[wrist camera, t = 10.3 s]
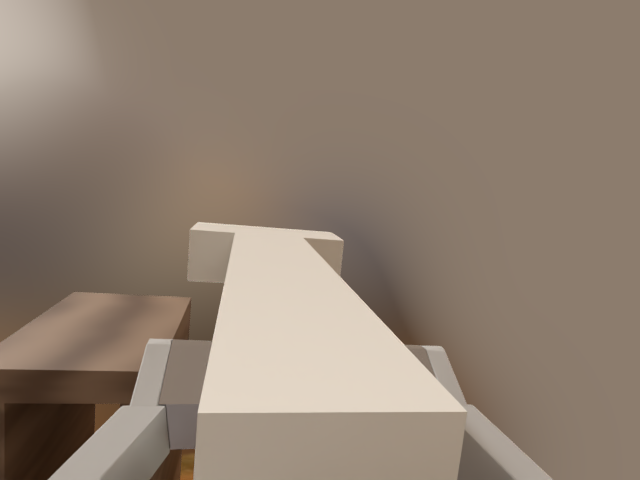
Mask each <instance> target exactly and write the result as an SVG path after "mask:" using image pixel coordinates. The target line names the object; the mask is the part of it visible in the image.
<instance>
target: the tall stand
mask: <svg viewBox="0 0 640 480" xmlns="http://www.w3.org/2000/svg"><path fill="white" fill-rule="evenodd" d="M190 309H191V298H189V297H188V298H187V297H168V296H167V297H166V296H146V295H125V294H105V293H85V292H73V293H72V294H71V295H69V296H68V297H66V298H65V299H63V300H62V301H60V302H59V303H57V304H56V305H55V306H53V307H52V308H50V309H49V310H47V311H46V312H44V313H43V314H41V315H40V316H39V317H37V318H36V319H34V320H33V321H31V322H30V323H28V324H27V325H25V326H24V327H22V328H21V329H20V330H18V331H17V332H15V333H14V334H12V335H11V336H9V337H8V338H6V339H5V340H3V341H2V342H1V343H0V480H48V479H49V478H50V477H51V476H52V475H53V474H54V473H55V472H56V471H57V470H58V469H59V468H60V467H61V466H62V465H63V464H64V463H65V462H66V461H67V460H68V459H69V458H70V457H71V456H72V455H73V454H74V453H75V452H76V451H77V450H78V449H79V448H80V447H81V446H82V445H83V444H84V443H85V442H86V441H87V440H88V439H89V438H90V437H91V436H92V435H93V434H94V427H95V426H94V425H95V404H120V408H121V407H122V406H130V402H131V399H132V395H133V391H134V388H135V384H136V380H137V377H138V373H139V370H140V366H141V362H142V359H143V355H144V351H145V348H146V345H147V343H148V341H149V339H178V340H189V326H190ZM181 455H182V449H173V450H170V453H169V454H168V455H167V457H166V458H165V459H164V461H163V462H162V464H161V465H160V466H159V468H158V469H157V470H156V472H155V473H154V475H153V476H152V477H151V479H150V480H180V472H181Z"/></svg>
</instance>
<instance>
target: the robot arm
mask: <svg viewBox="0 0 640 480" xmlns="http://www.w3.org/2000/svg"><path fill="white" fill-rule="evenodd" d="M211 346H212V341H198V340H197V341H196V340H178V339H149V341H148V343H147V345H146V348H145V351H144V355H143V359H142V362H141V366H140V370H139V373H138V377H137V380H136V384H135V388H134V391H133V395H132V399H131V402H130V406H122V407H121V408H120V409H119V410H118V411H117V412H116V413H115V414H114V415H113V416H112V417H111V418H110V419H109V420H108V421H107V422H106V423H105V424H103V425H102V427H100V428H99V429H98V431H96V432H95V433H94V434H93V435H92V436H91V437H90V438H89V439H88V440H87V441H86V442H85V443H84V444H83V445H82V446H81V447H80V448H79V449H78V450H77V451H76V452H75V453H74V454H73V455H72V456H71V457H70V458H69V459H68V460H67V461H66V462H65V463H64V464H63V465H62V466H61V467H60V468H59V469H58V470H57V471H56V472H55V473H54V474H53V475H52V476H51V477H50V478H49V479H48V480H150V479H151V477H152V476H153V475H154V473H155V472H156V470H157V469H158V468H159V466H160V465H161V464H162V462H163V461H164V459H165V458H166V457H167V455H168V454H169V453H170V450H173V449H194V448H195V446H196V430H197V414H198V408H199V404H200V399H201V394H202V389H203V384H204V379H205V375H206V370H207V365H208V360H209V355H210V350H211ZM405 346H406V347H407V348H408V349H409V350H410V351H411V352H412V354H413V355H414V356H415V357H416V358H417V359H418V360H419V361H420V362H421V363H422V364H423V365H424V366H425V367H426V368H427V369H428V371H429V372H430V373H431V374H432V375H433V376H434V377H435V378H436V379H437V380H438V381H439V382H440V383H441V384H442V385H443V386H444V387H445V389H446V390H447V391H448V392H449V393H450V394H451V395H452V396H453V397H454V398H455V399H456V400H457V401H458V402H459V403H460V404H461V405H462V407H463V408H464V409H465V410H466V411H467V418H466V425H465V431H464V438H463V444H462V451H461V457H460V464H459V471H458V477H457V480H553V479H552V478H551V477H550V476H549V475H548V474H546V473H545V472H544V471H543V470H542V469H541V468H540V467H539V466H538V465H537V464H536V463H535V462H534V461H532V460H531V459H530V458H529V457H528V456H527V455H526V454H525V453H524V452H523V451H522V450H521V449H519V447H517V446H516V445H515V444H514V443H513V442H512V441H511V440H510V439H509V438H508V437H507V436H506V435H504V434H503V433H502V432H501V431H500V430H499V429H498V428H497V427H496V426H495V425H494V424H493V423H492V422H490V421H489V420H488V419H487V418H486V417H485V416H484V415H483V414H482V413H481V412H480V411H479V410H478V409H477V408H475V407H474V406H473V405H467V403H466V401H465V398H464V396H463V393H462V391H461V389H460V386H459V384H458V381H457V379H456V376H455V375H454V372H453V369H452V367H451V365H450V362H449V360H448V357H447V355H446V352H445V350H444V349H443V348H442V347H441V346H420V345H405Z"/></svg>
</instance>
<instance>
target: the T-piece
mask: <svg viewBox="0 0 640 480" xmlns="http://www.w3.org/2000/svg"><path fill="white" fill-rule="evenodd" d="M343 244H344V241H343V240H342V239H340V238H339V237H337V236H336V235H334V234H333V233H331V232H320V231H307V230H295V229H281V228H268V227H254V226H242V225H229V224H216V223H202V222H198V223H197V224H195V225H194V226H193V227H192V228H191V229H190V239H189V259H188V276H187V281H198V282H199V281H200V282H217V283H224V288H223V293H222V298H221V302H220V307H219V312H218V317H217V322H216V326H215V331H214V336H213V341H212V346H211V350H210V355H209V360H208V365H207V370H206V375H205V379H204V384H203V389H202V394H201V399H200V404H199V408H198V414H197V430H196V446H195V462H194V479H193V480H457V477H458V471H459V464H460V457H461V451H462V444H463V438H464V431H465V425H466V418H467V411H466V410H465V409H464V408H463V407H462V405H461V404H460V403H459V402H458V401H457V400H456V399H455V398H454V397H453V396H452V395H451V394H450V393H449V392H448V391H447V390H446V389H445V387H444V386H443V385H442V384H441V383H440V382H439V381H438V380H437V379H436V378H435V377H434V376H433V375H432V374H431V373H430V372H429V371H428V369H427V368H426V367H425V366H424V365H423V364H422V363H421V362H420V361H419V360H418V359H417V358H416V357H415V356H414V355H413V354H412V352H411V351H410V350H409V349H408V348H407V347H406V346H405V345H404V344H403V343H402V342H401V341H400V340H399V339H398V338H397V337H396V336H395V334H394V333H393V332H392V331H391V330H390V329H389V328H388V327H387V326H386V325H385V324H384V323H383V322H382V321H381V320H380V319H379V318H378V316H377V315H376V314H375V313H374V312H373V311H372V310H371V309H370V308H369V307H368V306H367V305H366V304H365V303H364V302H363V301H362V300H361V298H360V297H359V296H358V295H357V294H356V293H355V292H354V291H353V290H352V289H351V288H350V287H349V286H348V285H347V284H346V283H345V281H343V279H341V277H340V273H341V263H342V254H343Z"/></svg>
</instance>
